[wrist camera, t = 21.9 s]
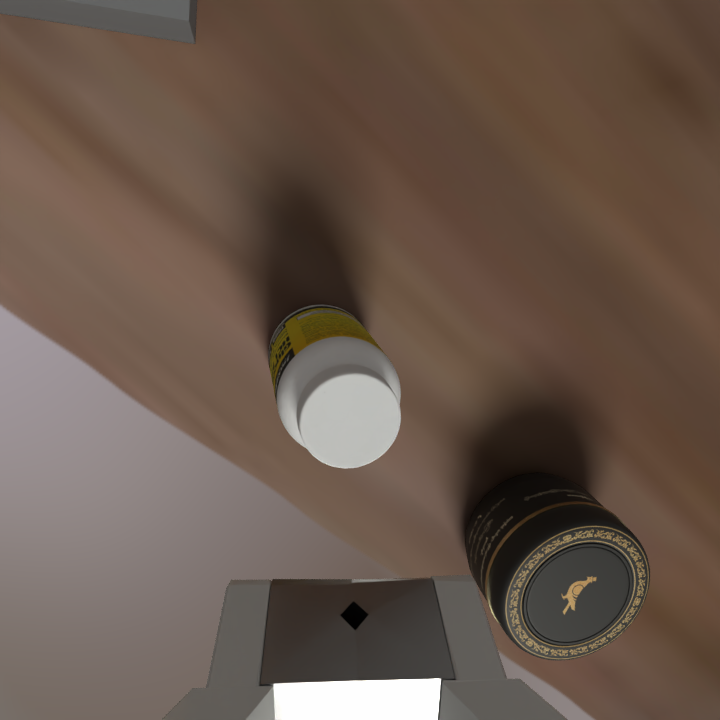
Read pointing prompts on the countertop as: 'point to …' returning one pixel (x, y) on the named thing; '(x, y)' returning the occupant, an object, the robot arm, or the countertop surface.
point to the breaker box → (115, 15)
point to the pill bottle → (334, 386)
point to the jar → (555, 566)
